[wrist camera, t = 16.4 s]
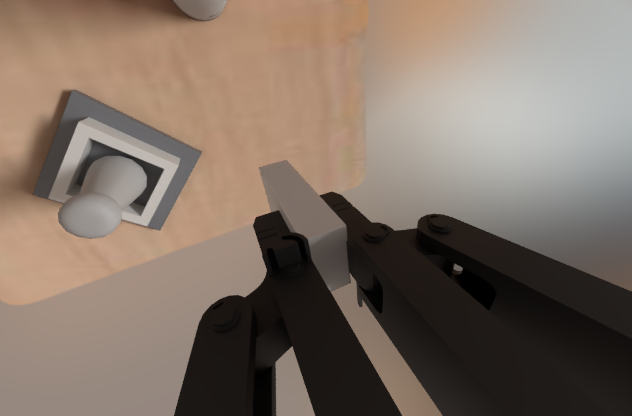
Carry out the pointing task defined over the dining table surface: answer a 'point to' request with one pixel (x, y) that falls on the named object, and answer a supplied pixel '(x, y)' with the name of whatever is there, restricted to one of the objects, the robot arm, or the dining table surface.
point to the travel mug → (201, 8)
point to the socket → (115, 140)
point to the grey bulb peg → (103, 197)
